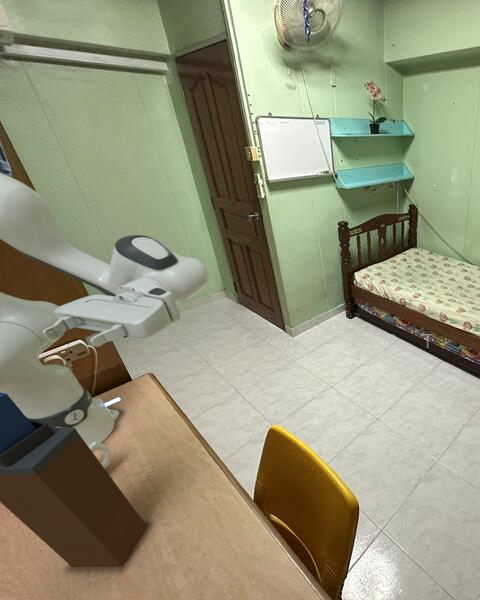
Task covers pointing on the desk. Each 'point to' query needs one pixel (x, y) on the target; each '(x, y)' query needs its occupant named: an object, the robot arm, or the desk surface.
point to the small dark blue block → (12, 424)
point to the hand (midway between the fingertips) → (68, 339)
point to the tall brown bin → (68, 498)
